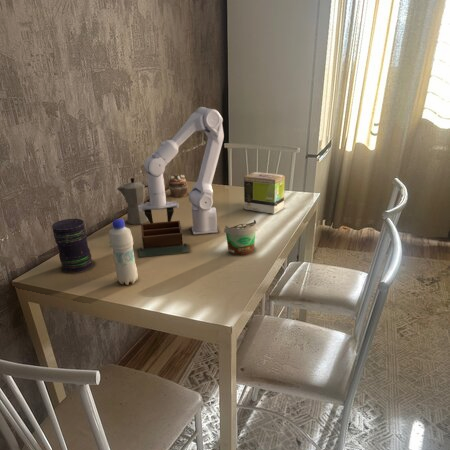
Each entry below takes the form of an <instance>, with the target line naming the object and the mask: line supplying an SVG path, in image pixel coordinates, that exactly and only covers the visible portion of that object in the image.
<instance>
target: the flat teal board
mask: <svg viewBox="0 0 450 450" xmlns="http://www.w3.org/2000/svg"><path fill="white" fill-rule="evenodd" d="M138 250H139V255H138V256H139V258H148V257H159V256H165V255H166V256H168V255H176V254H177V255H178V254H188V253H190V251H189V246H188V244H187V243H184V242H183V245H177V246H167V247H157V248H147V249H144V247H139V249H138Z"/></svg>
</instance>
